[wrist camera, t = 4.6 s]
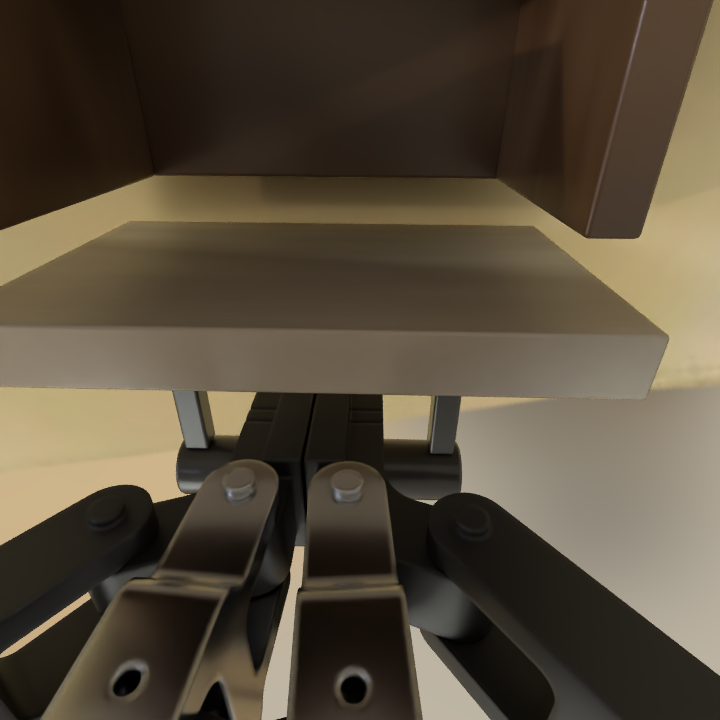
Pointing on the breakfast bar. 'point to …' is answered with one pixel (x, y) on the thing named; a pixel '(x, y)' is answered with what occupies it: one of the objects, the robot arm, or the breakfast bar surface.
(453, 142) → the drawer
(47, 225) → the breakfast bar surface
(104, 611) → the robot arm
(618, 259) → the breakfast bar surface
